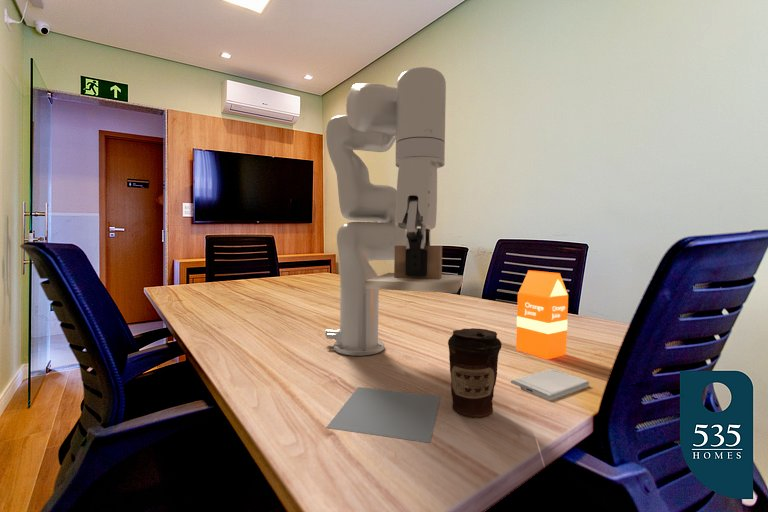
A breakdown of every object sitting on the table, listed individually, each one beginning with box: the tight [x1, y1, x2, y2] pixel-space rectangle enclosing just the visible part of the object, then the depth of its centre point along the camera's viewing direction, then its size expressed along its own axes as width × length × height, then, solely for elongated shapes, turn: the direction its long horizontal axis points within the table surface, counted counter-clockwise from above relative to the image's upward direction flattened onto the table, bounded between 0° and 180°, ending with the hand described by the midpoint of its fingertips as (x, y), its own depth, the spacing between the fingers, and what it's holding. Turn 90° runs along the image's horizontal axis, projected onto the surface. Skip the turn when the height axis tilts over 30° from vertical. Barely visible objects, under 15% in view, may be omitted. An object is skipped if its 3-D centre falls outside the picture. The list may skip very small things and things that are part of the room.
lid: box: [365, 245, 464, 294], centre depth 57 cm, size 13×13×6 cm
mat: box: [325, 386, 441, 444], centre depth 59 cm, size 15×15×1 cm
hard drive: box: [510, 368, 590, 402], centre depth 70 cm, size 2×8×12 cm
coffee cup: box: [447, 327, 502, 420], centre depth 59 cm, size 9×8×13 cm
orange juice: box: [515, 269, 569, 360], centre depth 91 cm, size 8×9×20 cm
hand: (418, 273), depth 58 cm, fingers closed on lid, 2 cm apart
